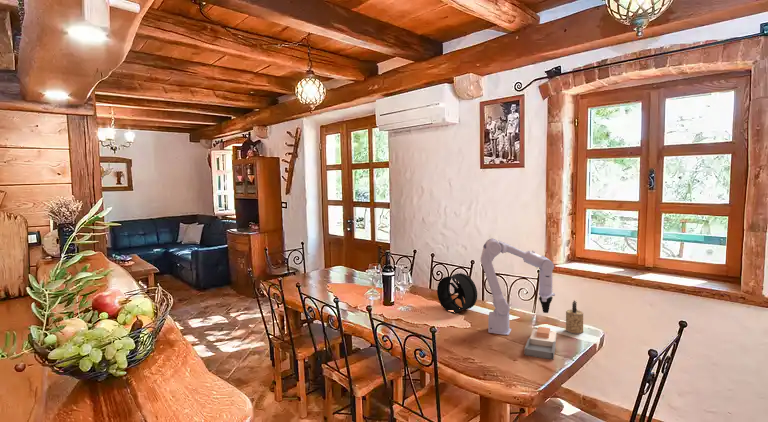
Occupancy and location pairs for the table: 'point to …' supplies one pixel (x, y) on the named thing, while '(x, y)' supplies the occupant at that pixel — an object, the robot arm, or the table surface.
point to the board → (542, 339)
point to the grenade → (574, 320)
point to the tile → (543, 332)
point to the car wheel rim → (464, 291)
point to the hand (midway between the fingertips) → (545, 312)
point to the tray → (539, 350)
